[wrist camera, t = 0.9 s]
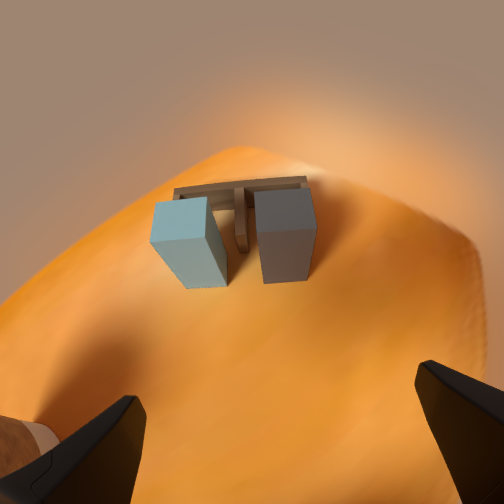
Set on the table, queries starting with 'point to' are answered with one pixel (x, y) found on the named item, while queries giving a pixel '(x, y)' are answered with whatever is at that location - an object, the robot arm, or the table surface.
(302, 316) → the table surface
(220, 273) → the pale blue tall block
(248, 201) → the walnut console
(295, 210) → the dark gray block
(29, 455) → the coffee cup
